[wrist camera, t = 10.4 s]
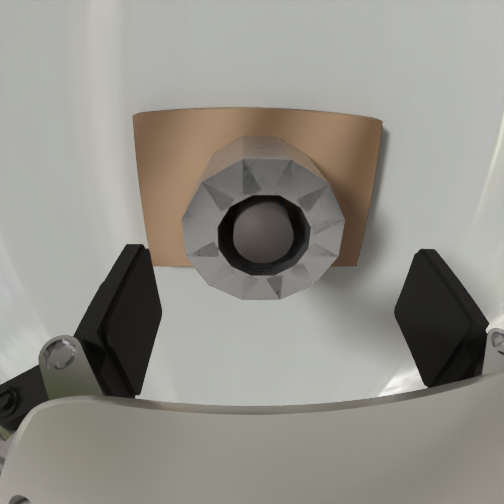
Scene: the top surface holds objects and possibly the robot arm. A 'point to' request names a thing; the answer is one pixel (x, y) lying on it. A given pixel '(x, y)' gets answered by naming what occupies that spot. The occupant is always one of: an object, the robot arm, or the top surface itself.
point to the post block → (256, 206)
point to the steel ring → (261, 183)
